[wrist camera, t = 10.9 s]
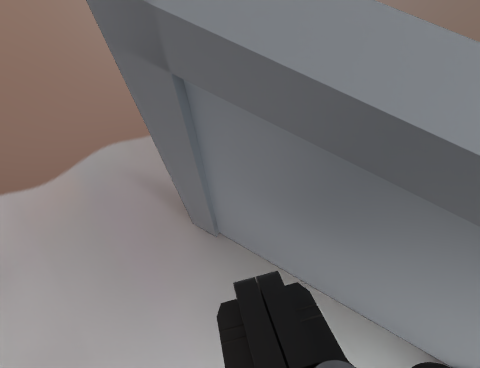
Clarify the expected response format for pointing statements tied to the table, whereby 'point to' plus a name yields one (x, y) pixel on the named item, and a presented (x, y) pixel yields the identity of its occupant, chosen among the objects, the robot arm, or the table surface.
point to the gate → (323, 147)
